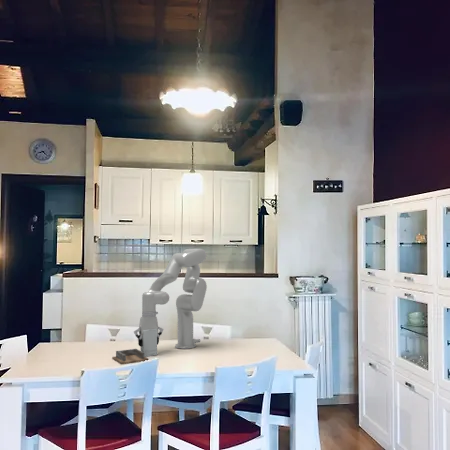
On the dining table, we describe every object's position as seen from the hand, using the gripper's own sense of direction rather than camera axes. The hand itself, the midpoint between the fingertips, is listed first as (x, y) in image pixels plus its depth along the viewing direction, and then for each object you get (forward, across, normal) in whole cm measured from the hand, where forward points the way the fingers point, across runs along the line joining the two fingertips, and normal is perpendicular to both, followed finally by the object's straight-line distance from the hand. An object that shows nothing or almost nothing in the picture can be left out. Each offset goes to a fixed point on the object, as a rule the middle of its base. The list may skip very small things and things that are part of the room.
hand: (148, 345), depth 255 cm
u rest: (+6, +12, +4) cm, 14 cm away
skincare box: (+6, 0, 0) cm, 6 cm away
